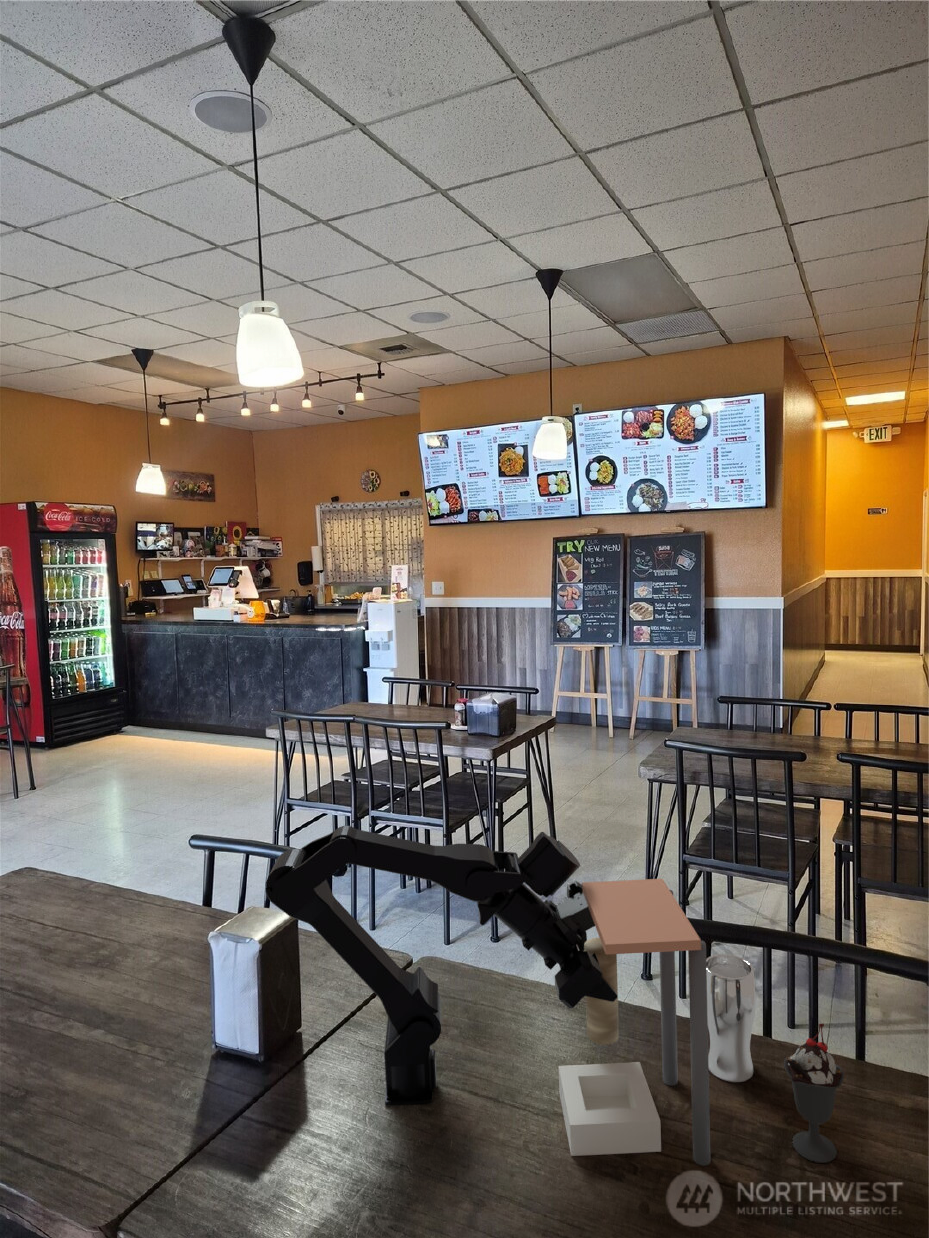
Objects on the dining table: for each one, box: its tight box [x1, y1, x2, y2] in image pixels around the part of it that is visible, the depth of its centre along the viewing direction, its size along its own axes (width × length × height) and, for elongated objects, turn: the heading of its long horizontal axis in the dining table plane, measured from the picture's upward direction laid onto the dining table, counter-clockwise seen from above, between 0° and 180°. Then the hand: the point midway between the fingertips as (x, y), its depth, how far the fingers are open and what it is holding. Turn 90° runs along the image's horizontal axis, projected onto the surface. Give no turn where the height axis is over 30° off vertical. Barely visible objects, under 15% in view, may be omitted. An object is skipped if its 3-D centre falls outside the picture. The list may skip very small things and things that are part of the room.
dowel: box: [584, 937, 620, 1046], centre depth 109 cm, size 4×4×13 cm
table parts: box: [558, 878, 711, 1167], centre depth 100 cm, size 16×17×28 cm
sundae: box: [783, 1023, 845, 1164], centre depth 94 cm, size 7×7×15 cm
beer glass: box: [706, 953, 757, 1083], centre depth 109 cm, size 7×7×15 cm
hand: (611, 988), depth 109 cm, fingers closed on dowel, 4 cm apart
